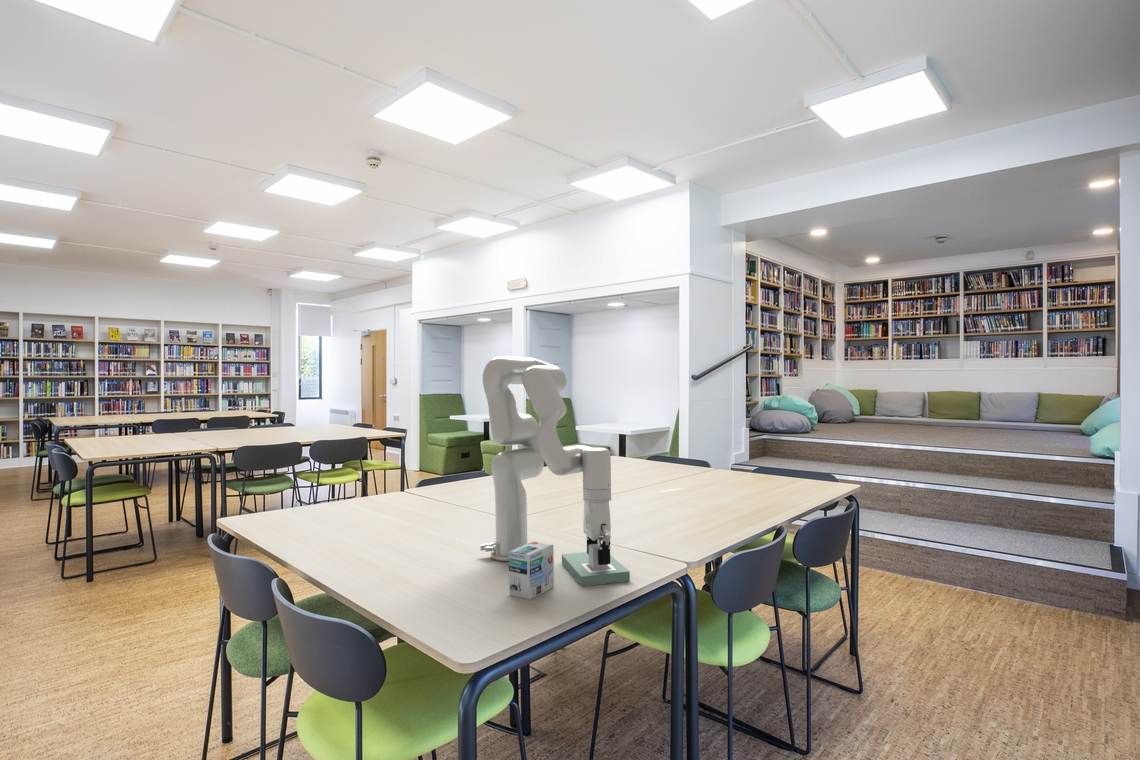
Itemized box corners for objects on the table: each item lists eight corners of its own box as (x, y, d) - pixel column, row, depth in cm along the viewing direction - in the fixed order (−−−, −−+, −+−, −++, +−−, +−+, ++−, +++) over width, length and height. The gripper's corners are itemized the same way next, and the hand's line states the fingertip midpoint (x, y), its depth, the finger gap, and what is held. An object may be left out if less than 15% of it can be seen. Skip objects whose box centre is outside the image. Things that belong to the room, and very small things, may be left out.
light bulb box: (530, 600, 133) (529, 554, 133) (507, 595, 136) (507, 550, 136) (555, 586, 142) (554, 543, 142) (533, 582, 145) (532, 540, 145)
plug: (593, 579, 146) (593, 548, 146) (589, 574, 150) (588, 544, 150) (609, 577, 147) (608, 547, 148) (604, 573, 151) (604, 543, 151)
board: (581, 586, 141) (581, 576, 141) (561, 563, 160) (561, 554, 161) (629, 581, 145) (629, 571, 145) (604, 558, 164) (604, 550, 164)
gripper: (574, 489, 156) (575, 551, 156) (593, 501, 140) (594, 570, 139) (600, 488, 158) (601, 548, 158) (621, 499, 142) (623, 567, 141)
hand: (598, 558), depth 149 cm, fingers open, 9 cm apart
